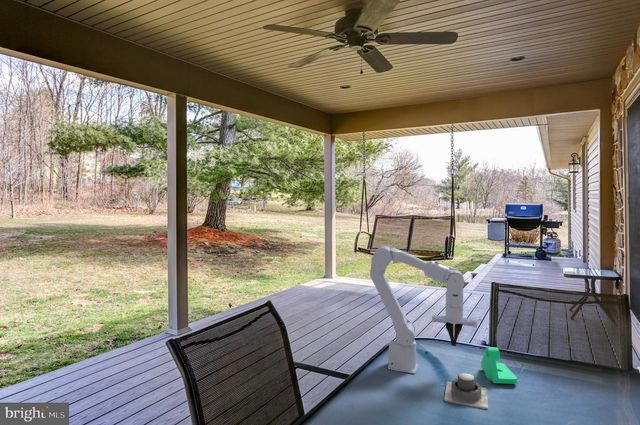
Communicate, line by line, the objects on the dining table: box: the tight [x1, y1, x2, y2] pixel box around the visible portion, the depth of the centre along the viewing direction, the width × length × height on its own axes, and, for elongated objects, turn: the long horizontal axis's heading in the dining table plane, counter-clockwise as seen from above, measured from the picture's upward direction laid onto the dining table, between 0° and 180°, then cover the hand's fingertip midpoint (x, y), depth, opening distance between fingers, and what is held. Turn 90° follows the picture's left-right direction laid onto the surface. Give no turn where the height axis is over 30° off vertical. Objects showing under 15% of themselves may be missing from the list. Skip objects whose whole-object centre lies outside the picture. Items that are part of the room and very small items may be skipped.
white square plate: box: [443, 378, 489, 410], centre depth 118 cm, size 12×12×3 cm
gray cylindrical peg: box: [457, 372, 476, 391], centre depth 118 cm, size 5×5×5 cm
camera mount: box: [480, 346, 518, 385], centre depth 130 cm, size 12×8×10 cm, turn 176°
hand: (453, 344), depth 133 cm, fingers closed
